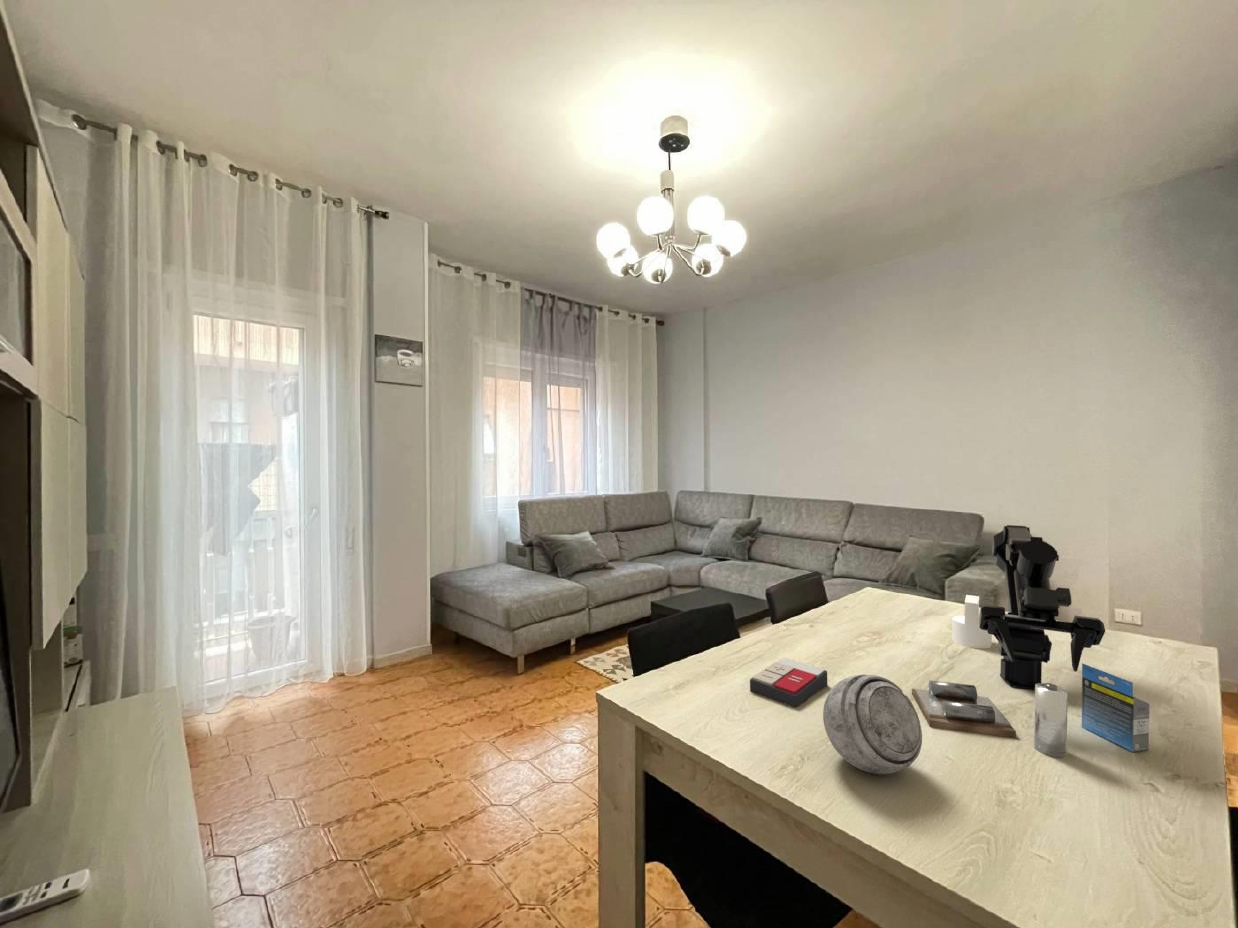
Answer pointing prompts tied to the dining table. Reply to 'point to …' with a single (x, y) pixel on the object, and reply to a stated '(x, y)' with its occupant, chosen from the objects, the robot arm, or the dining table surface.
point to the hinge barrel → (1050, 720)
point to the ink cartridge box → (1114, 710)
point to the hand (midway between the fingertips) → (1043, 665)
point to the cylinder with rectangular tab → (970, 626)
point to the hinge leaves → (960, 704)
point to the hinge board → (963, 721)
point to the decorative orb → (872, 724)
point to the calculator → (789, 682)
